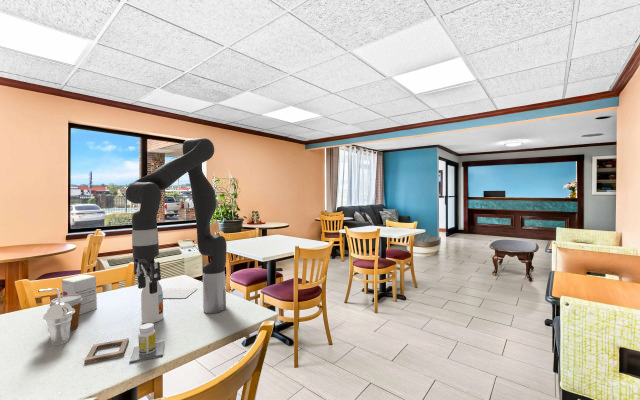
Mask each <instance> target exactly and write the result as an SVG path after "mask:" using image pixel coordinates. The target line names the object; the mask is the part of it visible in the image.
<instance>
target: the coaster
mask: <svg viewBox="0 0 640 400" xmlns="http://www.w3.org/2000/svg"><path fill="white" fill-rule="evenodd" d="M164 349H165V341H160V342H159V341H158V342H156V349H155V351H153V352H152V353H149V354H145V355H142V354H140V353H139V345H137V346H134V347H133V349H132V352H131V356H130V358H129V364H133V363H138V362H142V361H147V360H151V359H155V358H156V359H157V358H160V357H163V356H164Z"/></svg>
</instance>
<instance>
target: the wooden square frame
mask: <svg viewBox="0 0 640 400" xmlns="http://www.w3.org/2000/svg"><path fill="white" fill-rule="evenodd" d="M129 340H130V339H129V338H128V337H127V338H121V339H117V340H112V341H106V342H102V343H95V344H93V345H92V346H91V348H90V350H89V352H88V353H87V355H86V357H85V359H84V360H83V362H84V365H88V364H92V363H93V364H94V363H95V362H97V363H98V362H102V361H106V360H111V359H116V358H121V357H124V354H125V353H126V349H127V346H128V344H129ZM116 346H117V347H118V346H120V347H119V348H118V351H112V352H107V353H103V354H98V355H96V354H97V352H98V350H100V349H107V348H112V347H116Z"/></svg>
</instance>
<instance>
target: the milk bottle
mask: <svg viewBox="0 0 640 400" xmlns="http://www.w3.org/2000/svg"><path fill="white" fill-rule="evenodd" d="M163 291H164V290H163V288H162V285H161V283H160V280H159V281H157V293H154V294H150V293H149V281H148V278H147V277H146V287H145V288H141V292H140V293H141V294H140V296H141V297H140V306H141V308H140V310H141V312H140V313H141V322H142V323H143V324H147V323H153V324H155V323H158V322H159V321H162V320H163V318H164V298H163Z"/></svg>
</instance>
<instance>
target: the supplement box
mask: <svg viewBox="0 0 640 400" xmlns="http://www.w3.org/2000/svg"><path fill="white" fill-rule="evenodd" d="M74 294H77V295H81V298H82V301H81V306H80V314H79V316H80V315H83V314H86V313H88V312H91V311H94V310H97V309H98V299H97V276H94V275H89V274H79V275H76V276H70V277H67V278H63V279H61V295H62V296H66V295H74ZM62 296H61V297H62Z"/></svg>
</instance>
